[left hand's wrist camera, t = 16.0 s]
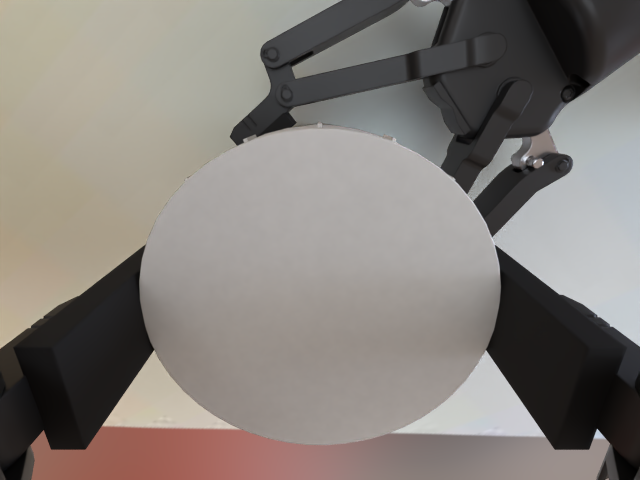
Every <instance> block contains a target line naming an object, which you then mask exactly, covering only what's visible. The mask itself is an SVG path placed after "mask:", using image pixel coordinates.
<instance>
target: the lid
mask: <svg viewBox="0 0 640 480" xmlns="http://www.w3.org/2000/svg"><path fill="white" fill-rule="evenodd" d="M396 140H397V139H395V138H393V137H390V136H387V135H385V134H384V135H383V137H382V136H379V135H376V134H372V133H369V132H366V131H362V130H359V129H354V128H347V127H341V126H331V125H322V122H318V125H308V126H300V127H292V128H286V129H282V130H278V131H275V132H271V133H267V134H264V135H262V136H259V137H256V135H253V136H250V137H248V138H245V139H243V141H244V143H243V144H240V145H238V146H236V147H234V148H231V149H229V150H228V151H226V152H224V153H223V154H221V155H219V156H218V157H216V158H214V159H213V160H211V161H209V162H208V163H206V164H205V165H204V166H202V167H201V168H200V169H199V170H198V171H196V172H195V173H194V174H193V175H191V176H189V177H187V178H186V179H185V180H184V181H185V182H184V183H183V184H182V185H181V186H180V187H179V189H178V190H177V191H176V192H175V193H174V194H173V195H172V196H171V197H170V199H169V200H168V202H167V203H166V205H165V206H164V208H163V209H162V211H161V213H160V214H159V216H158V217H157V219H156V221H155V223H154V226H153V228H152V230H151V232H150V234H149V237H148V239H147V243H146V246H145V250H144V254H143V257H142V262H141V271H140V280H139V288H140V303H141V308H142V313H143V318H144V323H145V327H146V330H147V333H148V336H149V339H150V342H151V344H152V346H153V348H154V350H155V352H156V354H157V356H158V358H159V360H160V361H161V363H162V364H163V366H164V367H165V369H166V370H167V371H168V373H169V374H170V376H171V377H172V378H173V379H174V380H175V382H176V383H177V384H178V385H179V386H180V387H181V388H182V390H183V391H184V392H186V393H187V394H188V395H189V396H190V397H191V398H192V399H193V400H194V401H196V402H197V403H198V404H199V405H201V406H202V407H203V408H205V409H206V410H208V411H209V412H210V413H212V414H213V415H215V416H217V417H218V418H220V419H222V420H224V421H226V422H227V423H229V424H231V425H233V426H235V427H238V428H240V429H242V430H245V431H247V432H249V433H252V434H256V435H259V436H262V437H265V438H268V439H273V440H278V441H283V442H288V443H297V444H306V445H333V444H344V443H351V442H357V441H362V440H367V439H371V438H374V437H378V436H381V435H385V434H388V433H390V432H393V431H395V430H398V429H400V428H403V427H405V426H407V425H409V424H411V423H413V422H415V421H416V420H418V419H420V418H422V417H423V416H425V415H426V414H428V413H429V412H431V411H432V410H434V409H435V408H437V407H438V406H440V405H441V404H442V403H443V402H444V401H445V400H447V399H448V398H449V397H450V396H451V395H453V394H454V393H455V391H456V390H457V389H458V388H459V387H460V386H461V385H462V384H463V383H464V382H465V381H466V380H467V378H468V377H469V376H470V374H471V373H472V371H473V370H474V369H475V367H476V366H477V365H478V363H479V361H480V359H481V358H482V356H483V354H484V352H485V350H486V349H487V347H488V344H489V342H490V339H491V336H492V334H493V331H494V328H495V323H496V318H497V314H498V309H499V303H500V293H501V281H500V267H499V262H498V257H497V253H496V249H495V245H494V242H493V239H492V237H491V234H490V232H489V230H488V227H487V225H486V222H485V221H484V219H483V217H482V216H481V214H480V212H479V211H478V209H477V207H476V206H475V204H474V202H473V201H472V200H471V199H470V198H469V196H468V195H467V194H466V193H465V192H464V190H463V189H462V188H461V187H460V186H459V184H458V183H456V182H455V179H454V178H453V177H452V176H450V175H448V174H446V173H445V172H444V171H443V170H442V169H441V168H440V167H438V166H437V165H435V164H434V163H432V162H431V161H429V160H428V159H426V158H424V157H423V156H421V155H420V154H418V153H417V152H415V151H412V150H410V149H408V148H406V147H404V146H402V145H400V144H397V143H395V142H396Z"/></svg>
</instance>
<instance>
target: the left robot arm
mask: <svg viewBox="0 0 640 480" xmlns="http://www.w3.org/2000/svg"><path fill="white" fill-rule="evenodd" d="M494 245H495V244H494ZM145 246H146V245H144V246H143V247H142V248H141V249H139V250H138V251H137V252H135V253H134V254H133V255H132V256H130V257H129V258H128V259H126V260H125V261H124V262H123V263H121V264H120V265H119V266H117V267H116V268H115V269H113V270H112V271H111V272H110V273H108V274H107V275H106V276H104V277H103V278H102V279H101V280H99V281H98V282H97V283H95V284H94V285H93V286H92V287H90V288H89V289H88V290H86V291H85V292H84V293H83V294H81V295H80V296H77V297H75V298H73V299H71V300H69V301H67V302H65V303H63V304H60V305H58V306H57V307H56V308H54V309H53V310H52V311H50V312H49V313H48V314H46V315H45V316H44V318H43V319H40V320H38V321H37V322H36V323H34V324H33V325H32V326H31V328H28V329H26V330H25V331H24V332H22V333H21V334H20V335H18V336H17V337H16V338H14V339H13V340H12V341H10V342H9V343H8V344H6V345H5V346H4V347H2V348H1V349H0V480H31V478H32V472H33V466H34V454H33V451H32V448H31V446H30V445H31V444H32V443H33V442H34V440H35V439H36V438H37V437H38V436H39V435H40V433H41V432H42V431H43V430H44V432H45V434H46V437H47V439H48V442H49V445H50V448H51V449H54V450H55V449H56V450H57V449H58V450H60V449H61V450H62V449H63V450H65V449H66V450H71V449H72V450H73V449H74V450H76V449H77V450H78V449H81V450H85V449H86V448H87V447H88V445H89V444H90V442H91V441H92V439H93V438H94V436H95V435H96V433H97V432H98V431H99V429H100V428H101V426H102V425H103V423H104V422H105V420H106V419H107V418H108V416H109V415H110V413H111V412H112V410H113V409H114V407H115V406H116V404H117V403H118V402H119V400H120V399H121V397H122V396H123V394H124V393H125V391H126V390H127V389H128V387H129V386H130V384H131V383H132V381H133V380H134V378H135V377H136V375H137V374H138V373H139V371H140V370H141V368H142V367H143V365H144V364H145V362H146V361H147V360H148V358H149V357H150V355H151V354H152V352H153V351H154V348H153V346H152V344H151V342H150V339H149V336H148V333H147V330H146V327H145V323H144V318H143V313H142V308H141V303H140V288H139V280H140V271H141V262H142V257H143V254H144V250H145ZM495 249H496V253H497V257H498V262H499V267H500V281H501V293H500V303H499V309H498V314H497V318H496V323H495V328H494V331H493V334H492V336H491V339H490V342H489V344H488V347H487V349H486V351H487V352H488V353H489V355H490V356H491V358H492V359H493V361H494V362H495V364H496V365H497V366H498V368H499V369H500V371H501V372H502V374H503V375H504V377H505V378H506V380H507V381H508V382H509V384H510V385H511V387H512V388H513V390H514V391H515V393H516V394H517V395H518V397H519V398H520V400H521V401H522V403H523V404H524V406H525V407H526V409H527V410H528V411H529V413H530V414H531V416H532V417H533V419H534V420H535V422H536V423H537V424H538V426H539V427H540V429H541V430H542V432H543V433H544V435H545V436H546V438H547V439H548V440H549V442H550V443H551V445H552V446H553V448H554V449H555V450H589V448H590V446H591V443H592V440H593V438H594V435H595V432H596V430H597V429H598V430H599V431H600V432H601V433H602V435H603V436H604V437H605V438H606V439H607V440H608V441H609V443H610V446H609V448H608V451H607V453H606V456H605V458H604V461H603V463H602V466H601V468H600V471H599V473H598V476H597V480H605V479H607V478H609V480H640V347H639V346H638V345H636V344H635V343H634V342H632V341H631V340H630V339H628V338H627V337H626V336H624V335H623V334H622V333H620V332H619V331H618V330H616V329H615V328H614V327H610V324H608V323H607V322H606V321H604V320H603V319H602V318H600V317H597V315H596V314H595V313H593V312H592V311H591V310H589V309H588V308H587V307H585V306H584V305H583V304H581V303H579V302H576V301H574V300H572V299H570V298H568V297H566V296H564V295H559V294H558V293H556V292H555V291H554V290H553V289H551V288H550V287H549V286H547V285H546V284H545V283H544V282H542V281H541V280H540V279H538V278H537V277H536V276H535V275H533V274H532V273H531V272H529V271H528V270H527V269H525V268H524V267H523V266H522V265H520V264H519V263H518V262H516V261H515V260H514V259H513V258H511V257H510V256H509V255H507V254H506V253H505V252H504V251H502V250H501V249H500V248H498V247H497V246H496V245H495Z"/></svg>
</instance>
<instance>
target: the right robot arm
mask: <svg viewBox="0 0 640 480" xmlns="http://www.w3.org/2000/svg"><path fill="white" fill-rule="evenodd" d="M408 1H409V0H342V1H340V2H338V3H336V4H335V5H333V6H331V7H329V8H327V9H326V10H324V11H322V12H320V13H318V14H316V15H315V16H313V17H311V18H309V19H307V20H306V21H304V22H302V23H300V24H298V25H296V26H295V27H293V28H291V29H289V30H287V31H286V32H284V33H282V34H280V35H278V36H277V37H275V38H273V39H271V40H269V41H267V42H266V43H265V44H264V45H263V46H262V48H261V53H260V56H261V59H262V61H263V63H264V65H265V68H266V71H267V73H268V76H269V79H270V82H271V89H270V93H269V95H268V96H267V97H266V98H265V99H264V100H263V101H262V102H261V103H260V104H259V105H258V106H257V107H256V108H255V109H254V110H253V111H251V112H250V113H249V114H248V115H247V116H246V117H245V118H244V119H243V120H242V121H241V122H240V123H239V124H237V125H236V126H235V127H234V129H233V131H232V133H231V135H230V138H231V139H232V140H233V141H234V142H235V143H236V145H237V146H238V145H240V144H243V143H244V141H243V139H245V138H248V137H250V136H253V135H256V137H259V136H262V135H264V134H267V133H271V132H275V131H278V130H282V129H286V128H291V127H292V126H293V125H295V124H296V123H297V122H296V121H295V120H294V119H293V117H292V116H291V115H290V114H289V111H290V110H292V109H293V108H294V107H297V106H301V105H306V104H310V103H315V102H319V101H324V100H328V99H333V98H337V97H342V96H346V95H351V94H356V93H360V92H365V91H369V90H374V89H378V88H383V87H387V86H392V85H396V84H401V83H406V82H411V81H415V80H420V79H423V82H424V87H423V88H422V89H423V90H424V92H425V93H426V95H427V96H428V98H429V99H430V100H431V101H432V102H433V103H434V104H436V105H437V106H438V107H439V108H440V109H441V112H442V116H443V119H444V122H445V124H446V125H447V127H448V128H449V130H450V131H451V133H455V135H454V137H453V139H452V141H451V143H450V145H449V147H448V150H447V156H446V158H445V160H444V162H443V164H442V166H441V169H442V170H443V171H444V172H445V173H446V174H448V175H450V176H452V177H453V178H454V179H455V182H456V183H458V184H459V186H460V187H461V188H462V189H463V190H464V192H465V193H466V194H467V193H468V192H469V190H470V188H471V187H472V185H473V183H474V181H475V180H476V178H477V176H478V174H479V173H480V171H481V170H482V169H483V168H484V167H486V166H487V165H488V164H489V163H490V162H491V161H492V159H493V157H494V156H495V154H496V152H497V150H498V149H499V147H500V145H501V144H502V142H503V140H504V139H508V138H522V139H523V142H522V146H521V148H520V149H519V150H518V151H517V152H516V153H515V154H513V155H512V156H511V161H512V164H511V165H509V166H508V167H506V168H505V169H504V170H503V171H501V172H500V173H499V174H498V175H497V176H496V177H495V178H494V179H493V180H492V181H491V183H490V184H489V185H488V186H487V187H486V188H485V189H484V190H483V191H482V192H481V193H480V195H479V196H478V197H477V198H476V199H475V200H474V201H473V202H474V204H475V206H476V207H477V209H478V211H479V212H480V214H481V216H482V217H483V219H484V221H485V222H486V225H487V227H488V230H489V232H490V234H491V237H493V236H494V235H495V234H496V233H497V232H498V231H499V230H500V229H501V228H502V227H503V226H504V225H505V224H506V222H507V221H508V220H509V219H510V218H511V217H512V216H513V215H514V214H515V213H516V212H517V211H518V210H519V209H520V208H521V207H522V206H523V205H524V204H525V203H526V202H527V201H528V200H529V199H530V198H531V197H532V196H533V195H534V194H535V193H536V192H537V191H539V190H540V189H542V188H544V187H546V186H547V185H549V184H551V183H553V182H554V181H556V180H558V179H560V178H561V177H563V176H565V175H566V174H568V173H569V172H570V170H571V169H572V166H573V160H572V158H571V157H570V156H568V155H565V154H559V153H558V151H557V149H556V146H555V144H554V142H553V139H552V137H551V134H550V132H549V129H548V128H549V127H550V126H551V125H552V123H553V122H554V120H555V118H556V116H557V115H558V113H559V112H560V111H561V110H562V109H563V107H564V106H565V105H567V104H568V103H569V102H571V101H572V100H574V99H576V98H577V97H579V96H580V95H582V94H583V93H585V92H587V91H588V90H589V89H591V88H592V87H594V86H595V85H596V84H598V83H599V82H600V81H602V80H603V79H605V78H606V77H607V76H609V75H610V74H611V73H613V72H614V71H615V70H617V69H618V68H620V67H621V66H622V65H624V64H625V63H626V62H628V61H629V60H631V59H632V58H633V57H635V56H636V55H637V54H639V53H640V0H410V1H411V2H412V3H413V4H414V5H415V6H417V7H423V6H426V5H427V4H429V3H431V2H433V1H439V2H441V3H442V4H443V5H444V6H445V7H444V10H443V13H442V16H441V19H440V22H439V25H438V28H437V31H436V34H435V37H434V40H433V43H432V46H431V48H427V49H423V50H418V51H415V52H412V53H409V54H405V55H401V56H396V57H392V58H387V59H383V60H378V61H374V62H370V63H365V64H361V65H356V66H352V67H348V68H343V69H339V70H334V71H330V72H325V73H321V74H317V75H312V76H308V77H303V78H299V79H295V76H294V73H293V70H292V67H293V66H295V65H297V64H299V63H301V62H303V61H304V60H306V59H308V58H310V57H312V56H314V55H316V54H318V53H319V52H321V51H323V50H325V49H327V48H329V47H331V46H333V45H334V44H336V43H338V42H340V41H342V40H344V39H346V38H348V37H350V36H351V35H353V34H355V33H357V32H359V31H361V30H363V29H365V28H366V27H368V26H370V25H372V24H374V23H376V22H378V21H380V20H381V19H383V18H385V17H387V16H389V15H391V14H392V13H394V12H396V11H397V10H399V9H400V8H401V7H402V6H404V5H405V4H406V3H407V2H408Z"/></svg>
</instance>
